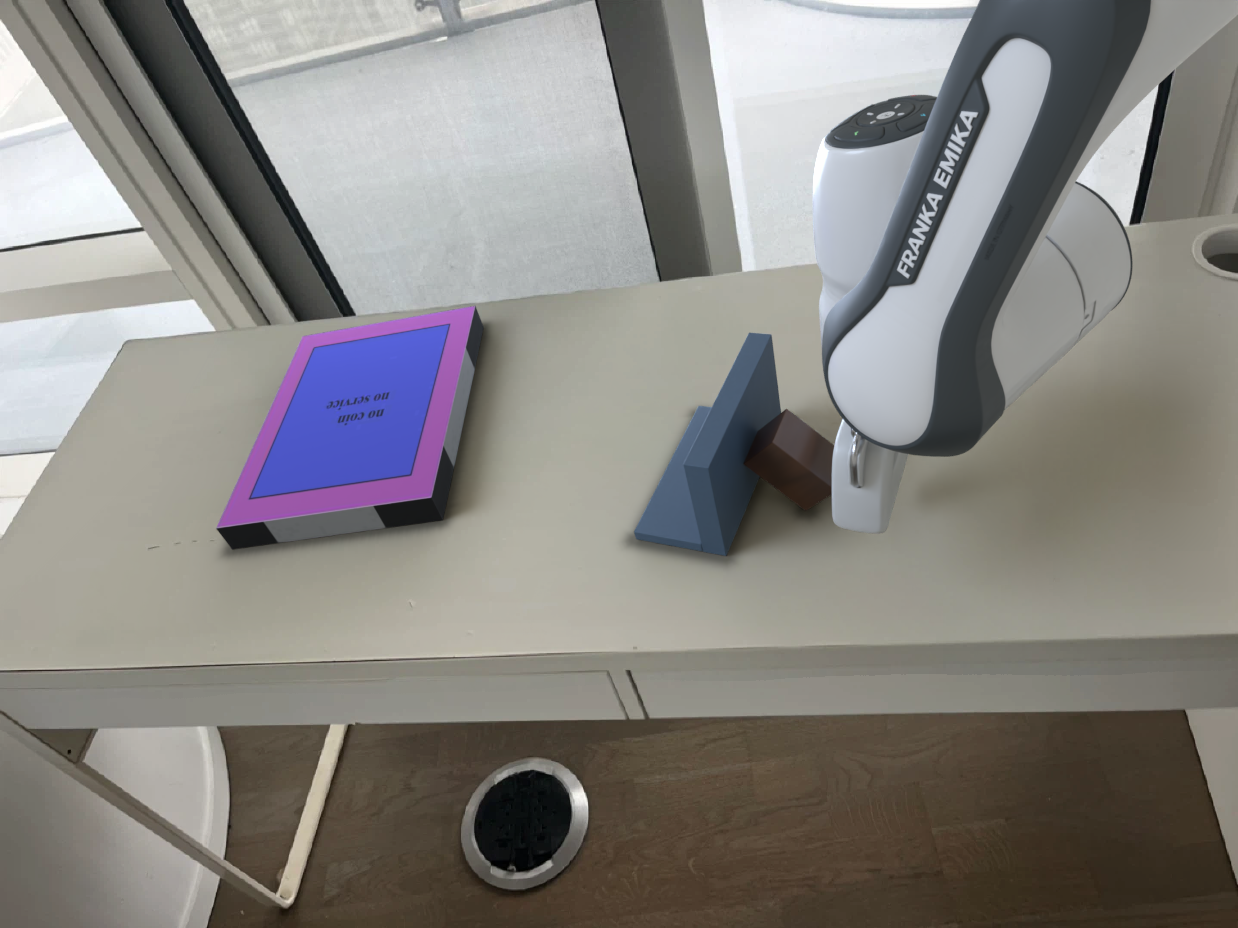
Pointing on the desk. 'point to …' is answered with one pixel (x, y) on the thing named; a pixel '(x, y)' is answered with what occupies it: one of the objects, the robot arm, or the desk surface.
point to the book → (359, 432)
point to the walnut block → (793, 459)
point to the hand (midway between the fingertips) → (889, 481)
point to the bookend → (716, 459)
